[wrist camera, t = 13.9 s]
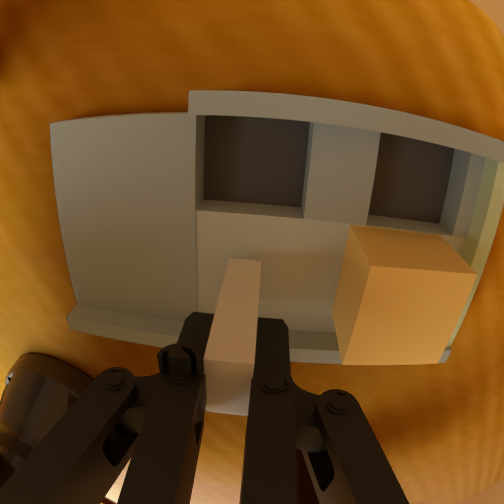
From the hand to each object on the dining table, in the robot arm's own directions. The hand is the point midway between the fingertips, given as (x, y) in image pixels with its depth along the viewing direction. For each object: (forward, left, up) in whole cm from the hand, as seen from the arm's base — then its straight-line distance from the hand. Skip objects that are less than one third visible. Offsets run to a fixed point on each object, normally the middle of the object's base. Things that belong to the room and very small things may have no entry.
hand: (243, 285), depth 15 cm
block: (+1, -7, -1) cm, 7 cm away
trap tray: (+2, -1, -3) cm, 4 cm away
